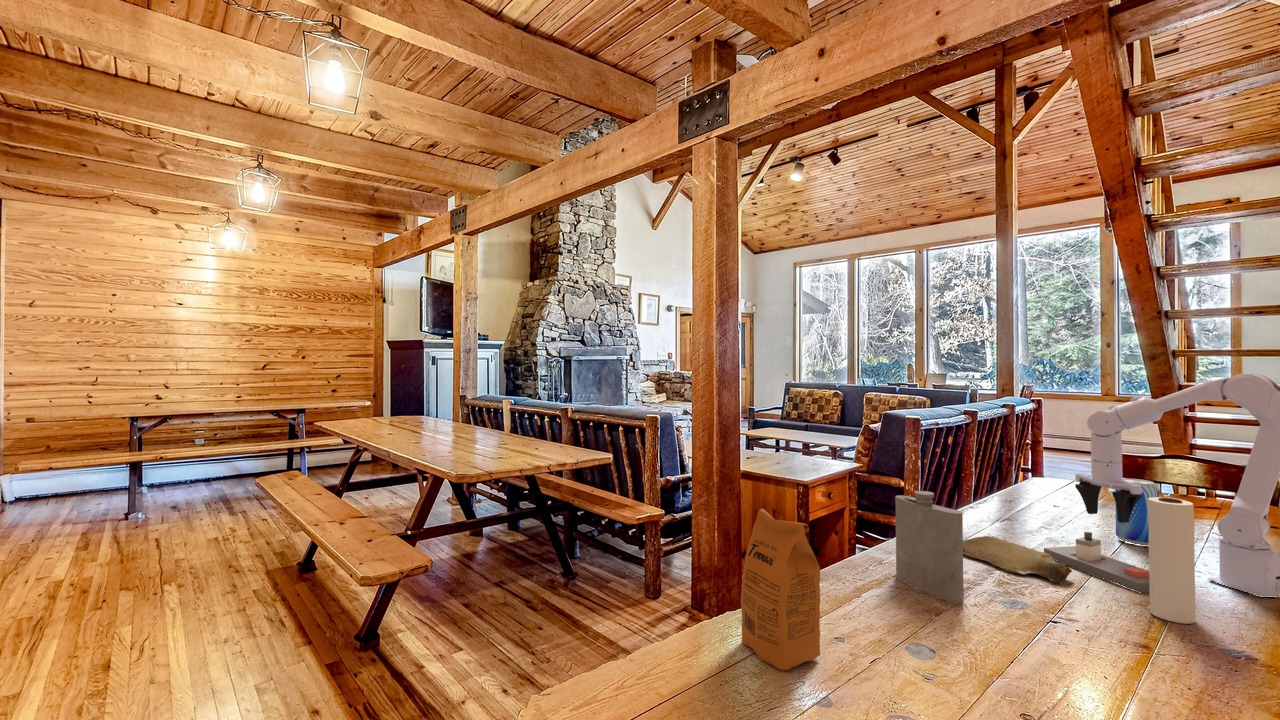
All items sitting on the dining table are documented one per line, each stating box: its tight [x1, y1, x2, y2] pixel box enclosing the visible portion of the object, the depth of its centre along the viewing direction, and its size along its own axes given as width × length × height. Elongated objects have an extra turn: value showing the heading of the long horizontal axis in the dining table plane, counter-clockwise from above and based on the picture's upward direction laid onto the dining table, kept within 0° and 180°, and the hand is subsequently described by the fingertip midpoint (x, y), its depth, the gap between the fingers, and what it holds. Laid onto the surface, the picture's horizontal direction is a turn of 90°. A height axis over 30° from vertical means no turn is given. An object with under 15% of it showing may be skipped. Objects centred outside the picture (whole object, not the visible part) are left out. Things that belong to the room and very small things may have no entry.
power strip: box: [1043, 545, 1150, 593], centre depth 123 cm, size 22×9×3 cm, turn 8°
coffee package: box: [740, 508, 821, 671], centre depth 90 cm, size 10×12×22 cm
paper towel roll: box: [1148, 495, 1197, 625], centre depth 101 cm, size 7×6×21 cm
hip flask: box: [895, 490, 965, 605], centre depth 115 cm, size 16×4×20 cm, turn 18°
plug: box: [1075, 531, 1102, 561], centre depth 127 cm, size 3×4×8 cm
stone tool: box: [963, 535, 1073, 585], centre depth 128 cm, size 12×4×25 cm
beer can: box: [1114, 477, 1160, 545], centre depth 143 cm, size 8×8×16 cm
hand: (1107, 517), depth 133 cm, fingers open, 7 cm apart
